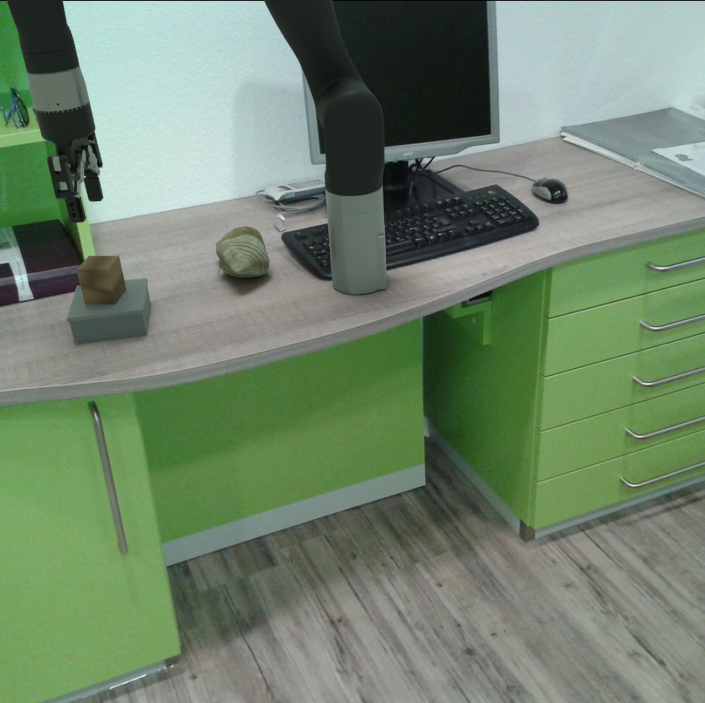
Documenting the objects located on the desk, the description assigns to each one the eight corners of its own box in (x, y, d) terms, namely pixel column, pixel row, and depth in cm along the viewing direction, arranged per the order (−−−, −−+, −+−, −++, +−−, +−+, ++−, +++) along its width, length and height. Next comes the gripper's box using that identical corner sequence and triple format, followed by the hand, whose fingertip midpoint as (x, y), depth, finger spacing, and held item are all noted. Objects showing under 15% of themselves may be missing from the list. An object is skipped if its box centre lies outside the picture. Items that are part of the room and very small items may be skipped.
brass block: (126, 289, 134) (119, 255, 131) (115, 304, 129) (107, 269, 126) (96, 289, 134) (88, 255, 131) (85, 304, 130) (76, 269, 127)
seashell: (198, 235, 150) (229, 201, 144) (241, 251, 155) (272, 219, 150) (206, 297, 142) (239, 263, 136) (251, 311, 148) (284, 280, 142)
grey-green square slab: (152, 304, 140) (147, 277, 137) (148, 337, 130) (142, 309, 127) (83, 312, 139) (76, 285, 136) (74, 346, 129) (66, 318, 126)
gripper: (70, 114, 110) (98, 228, 118) (102, 87, 122) (125, 192, 130) (15, 117, 110) (46, 230, 118) (53, 90, 122) (78, 195, 131)
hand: (87, 210), depth 124 cm, fingers open, 8 cm apart
